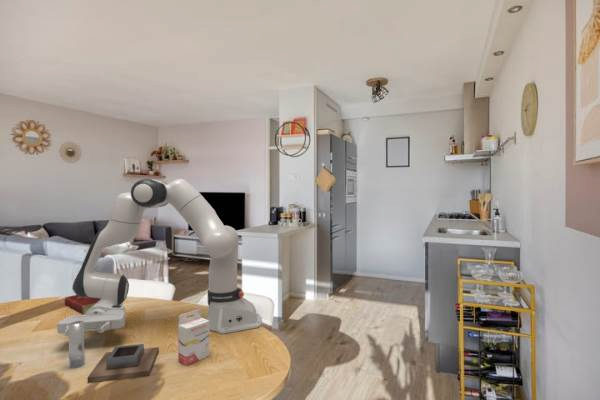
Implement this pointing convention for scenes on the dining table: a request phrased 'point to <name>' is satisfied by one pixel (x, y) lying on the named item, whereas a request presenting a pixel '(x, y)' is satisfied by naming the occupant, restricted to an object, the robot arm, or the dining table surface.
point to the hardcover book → (81, 303)
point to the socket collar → (125, 356)
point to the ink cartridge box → (192, 337)
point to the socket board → (123, 373)
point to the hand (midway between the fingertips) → (83, 332)
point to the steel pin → (76, 344)
